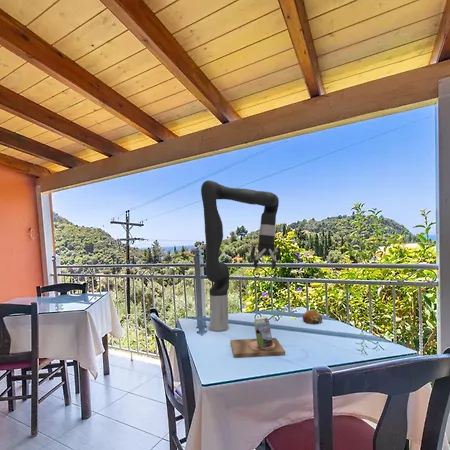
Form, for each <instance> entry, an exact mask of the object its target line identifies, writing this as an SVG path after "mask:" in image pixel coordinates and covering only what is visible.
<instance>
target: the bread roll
mask: <svg viewBox="0 0 450 450" xmlns="http://www.w3.org/2000/svg"><path fill="white" fill-rule="evenodd" d="M302 321H303V323H305V324H308V325H319V324H320V323H322V321H323V318H322V314H321V313H320V312H319V311H317V310H315V309H307V310H306V311H305V312H304V313H303V314H302Z"/></svg>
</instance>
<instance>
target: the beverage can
mask: <svg viewBox="0 0 450 450" xmlns="http://www.w3.org/2000/svg"><path fill="white" fill-rule="evenodd" d="M253 324H254V331H255V337H256V338H255V339H257V344H258V347H260V348H261V349H266V348H270V347H271V346H272V345H273V342H272V338H273V337H272V331H271V325H270V320H269V318H268V317H267V316H258V317H255V318H254V321H253Z"/></svg>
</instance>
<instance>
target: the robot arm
mask: <svg viewBox="0 0 450 450" xmlns="http://www.w3.org/2000/svg"><path fill="white" fill-rule="evenodd" d="M200 194H201V200H202V207H203V219H204V236H205V254H206V256H205V276H206V278H207V280H208V281H209V282H211V283H213V284H212V286H211V288H209V322H210V323H209V324H210V325H209V326H210V331H211V332H212V331H214V332H224V331H226V330H228V329H230V327H229V300H228V299H229V298H228V297H229V296H228V295H229V292H228V291H229V287H230V269H229V266H228V265H227V264H226V263H225V262H222V261H221V262H220V260H219V259H220V257H219V255H220V250H221V246H222V243H223V239H224V229H223V228H224V226H223V222H222V218H221V216H220V213H219V211H218V206H217V200H228V201H234V202H239V203H242V204H248V205H252V206H253V205H254V206H255V205H258V206H263V207H264V208H263V212H262V213H261V215H260V216H261V217H260V226H259V230H258V231H259V234H258V242H257V243H258V245H257V246H256V245H252V246H251V248H250V255H249V257H250V259H253V267H254V268H255V269H257V268H258V259H259V258H260V257H261V256H267V257H270V258H271V269H272V270H275V268H276V266H277V265H276V264H277V261H280V260H281V248H280V247H279V246H278V247H275V239H276V223H277V222H276V221H277V214H278V209H279V203H280V202H279V197H278V195H277V194H275V193H273V192H271V191H264V190H255V189H254V190H253V189H247V188H240V187H239V188H237V187H236V188H234V187H229V186H225V185H223V184H220V183H218V182H217V181H213V180H209V179H207V180H205V181H204V182H203V183H202V184H201V188H200ZM256 251H258V252H256ZM274 252H275V254H274ZM255 253H256V254H255Z"/></svg>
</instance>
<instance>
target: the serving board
mask: <svg viewBox="0 0 450 450" xmlns="http://www.w3.org/2000/svg"><path fill="white" fill-rule="evenodd" d="M272 342H273V345H272V346H271V347H270V348H266V349H261V348H260V347H258V344H257V338H243V339H230V345H231V351H232V356H233V358H234V359H236V358H257V357H275V356H278V357H279V356H286V350H285V348H284V347H283V346H282V345H281V343H280V342H279V340H278V338H277V337H272Z"/></svg>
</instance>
